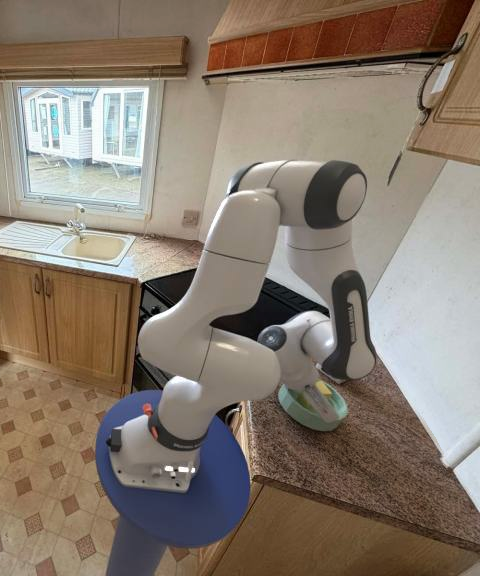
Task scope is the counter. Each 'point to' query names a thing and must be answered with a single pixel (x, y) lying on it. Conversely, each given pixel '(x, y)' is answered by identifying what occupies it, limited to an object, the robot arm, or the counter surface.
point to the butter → (305, 403)
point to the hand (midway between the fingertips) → (315, 397)
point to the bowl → (312, 418)
